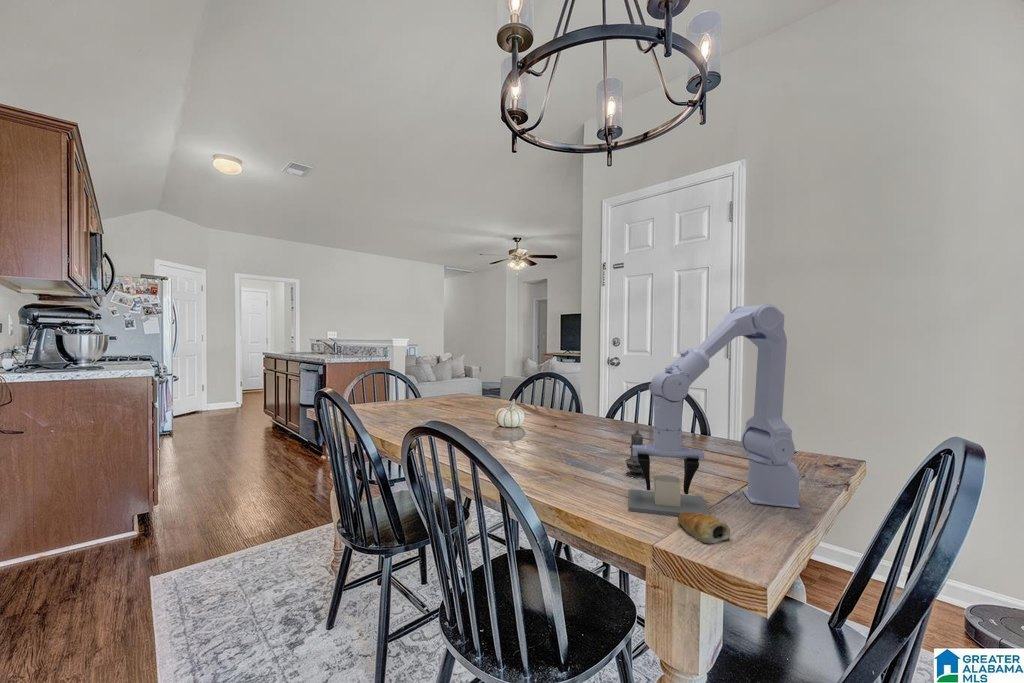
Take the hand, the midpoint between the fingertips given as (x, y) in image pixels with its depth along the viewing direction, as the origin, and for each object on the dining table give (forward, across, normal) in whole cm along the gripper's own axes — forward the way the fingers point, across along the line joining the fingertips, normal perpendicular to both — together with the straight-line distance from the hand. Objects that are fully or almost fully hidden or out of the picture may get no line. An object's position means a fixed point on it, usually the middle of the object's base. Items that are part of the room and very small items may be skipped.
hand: (666, 490), depth 92 cm
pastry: (+4, -5, +12) cm, 14 cm away
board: (+3, 0, 0) cm, 3 cm away
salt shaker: (+3, +6, -19) cm, 20 cm away
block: (+2, 0, 0) cm, 2 cm away
